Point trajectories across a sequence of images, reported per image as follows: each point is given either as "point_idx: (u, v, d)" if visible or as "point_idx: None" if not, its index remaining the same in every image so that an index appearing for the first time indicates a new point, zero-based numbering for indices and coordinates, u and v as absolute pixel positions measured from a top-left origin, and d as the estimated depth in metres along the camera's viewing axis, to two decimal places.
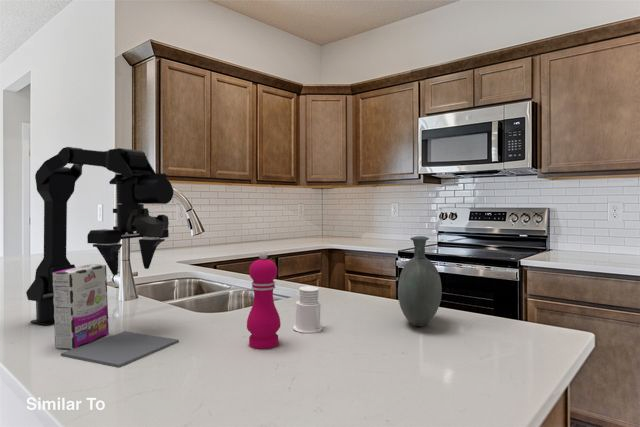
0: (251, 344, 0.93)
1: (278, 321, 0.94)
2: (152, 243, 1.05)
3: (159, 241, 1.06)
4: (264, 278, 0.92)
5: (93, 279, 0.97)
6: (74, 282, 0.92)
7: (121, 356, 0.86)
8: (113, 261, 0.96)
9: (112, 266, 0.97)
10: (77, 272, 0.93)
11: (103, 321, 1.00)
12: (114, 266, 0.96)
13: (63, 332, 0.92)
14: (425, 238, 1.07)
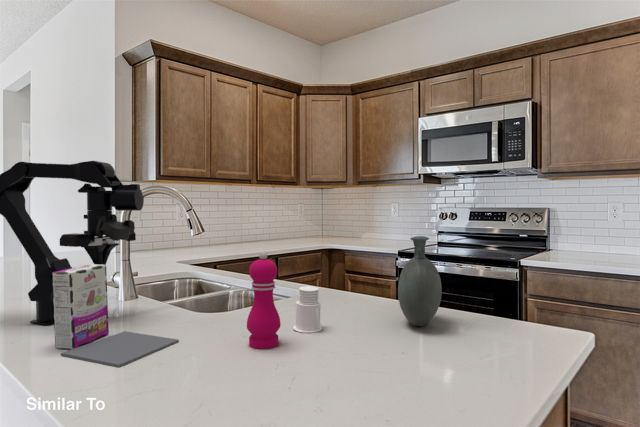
0: (251, 344, 0.93)
1: (278, 321, 0.94)
2: (106, 247, 1.13)
3: (113, 245, 1.13)
4: (264, 278, 0.92)
5: (93, 279, 0.97)
6: (74, 282, 0.92)
7: (121, 356, 0.86)
8: (98, 259, 1.12)
9: None
10: (77, 272, 0.93)
11: (103, 321, 1.00)
12: (99, 264, 1.12)
13: (63, 332, 0.92)
14: (425, 238, 1.07)
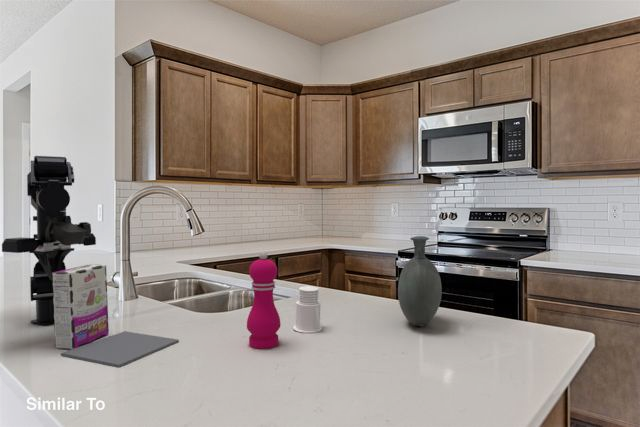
0: (251, 344, 0.93)
1: (278, 321, 0.94)
2: (59, 253, 1.00)
3: (67, 251, 1.01)
4: (264, 278, 0.92)
5: (93, 279, 0.97)
6: (74, 282, 0.92)
7: (121, 356, 0.86)
8: (49, 267, 0.99)
9: (49, 272, 1.00)
10: (77, 272, 0.93)
11: (103, 321, 1.00)
12: (50, 271, 0.99)
13: (63, 332, 0.92)
14: (425, 238, 1.07)
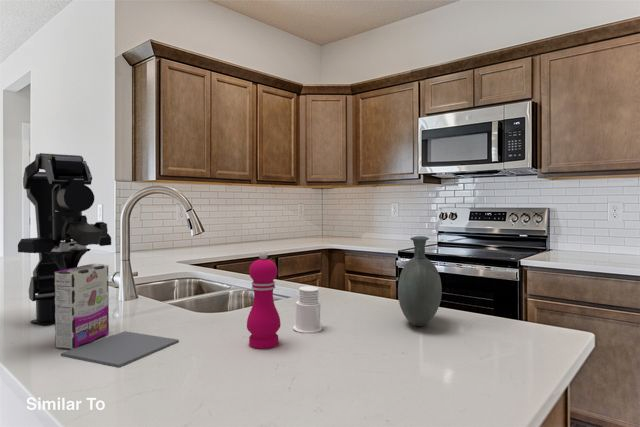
0: (251, 344, 0.93)
1: (278, 321, 0.94)
2: (75, 253, 0.98)
3: (83, 251, 0.99)
4: (264, 278, 0.92)
5: (95, 279, 0.97)
6: (76, 282, 0.92)
7: (121, 356, 0.86)
8: (65, 267, 0.97)
9: None
10: (79, 272, 0.93)
11: (103, 321, 1.00)
12: None
13: (64, 332, 0.92)
14: (425, 238, 1.07)
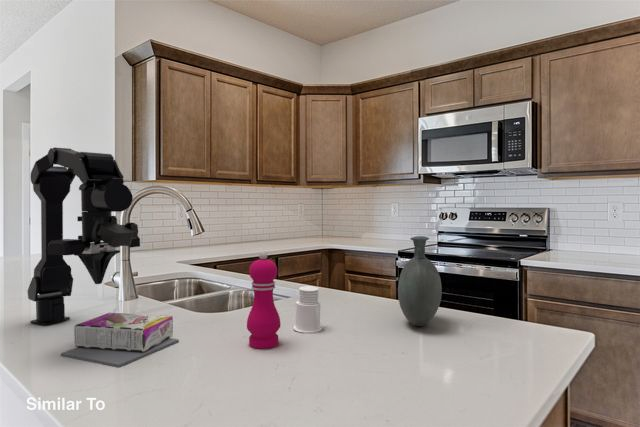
0: (251, 344, 0.93)
1: (278, 321, 0.94)
2: (105, 255, 0.95)
3: (113, 253, 0.95)
4: (264, 278, 0.92)
5: None
6: None
7: (121, 356, 0.86)
8: (95, 270, 0.93)
9: (94, 275, 0.94)
10: None
11: None
12: (96, 275, 0.93)
13: (89, 337, 0.91)
14: (425, 238, 1.07)
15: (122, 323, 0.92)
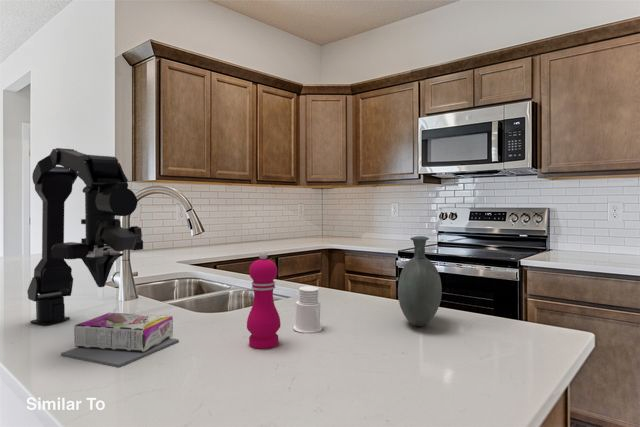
0: (251, 344, 0.93)
1: (278, 321, 0.94)
2: (108, 258, 0.94)
3: (116, 256, 0.95)
4: (264, 278, 0.92)
5: None
6: None
7: (121, 356, 0.86)
8: (98, 273, 0.93)
9: (97, 278, 0.94)
10: None
11: None
12: (99, 278, 0.93)
13: (89, 337, 0.91)
14: (425, 238, 1.07)
15: (122, 323, 0.92)
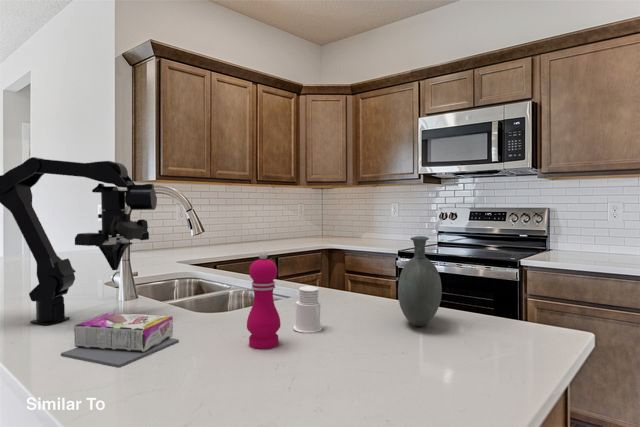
0: (251, 344, 0.93)
1: (278, 321, 0.94)
2: (120, 246, 1.14)
3: (127, 244, 1.15)
4: (264, 278, 0.92)
5: None
6: None
7: (121, 356, 0.86)
8: (112, 258, 1.13)
9: (111, 263, 1.14)
10: None
11: None
12: (113, 262, 1.13)
13: (89, 337, 0.91)
14: (425, 238, 1.07)
15: (122, 323, 0.92)
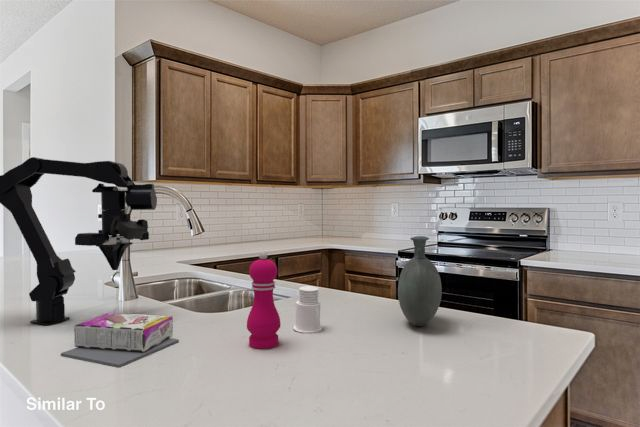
0: (251, 344, 0.93)
1: (278, 321, 0.94)
2: (120, 246, 1.15)
3: (127, 244, 1.15)
4: (264, 278, 0.92)
5: None
6: None
7: (121, 356, 0.86)
8: (112, 258, 1.13)
9: (112, 263, 1.14)
10: None
11: None
12: (113, 262, 1.13)
13: (89, 337, 0.91)
14: (425, 238, 1.07)
15: (122, 323, 0.92)
